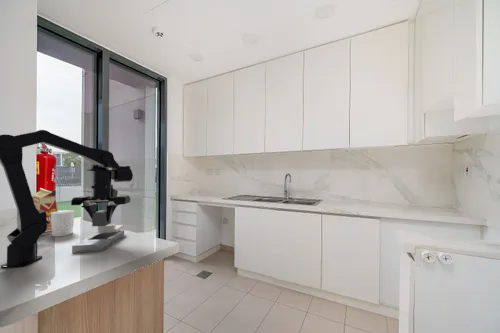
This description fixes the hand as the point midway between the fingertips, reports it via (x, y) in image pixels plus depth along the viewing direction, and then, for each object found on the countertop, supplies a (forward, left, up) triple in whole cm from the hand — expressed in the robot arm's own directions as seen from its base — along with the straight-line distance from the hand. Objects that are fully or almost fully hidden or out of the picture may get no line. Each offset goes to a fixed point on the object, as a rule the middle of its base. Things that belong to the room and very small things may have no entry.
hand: (101, 222), depth 82 cm
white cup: (+15, +23, -9) cm, 29 cm away
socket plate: (0, 0, -8) cm, 8 cm away
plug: (0, 0, -1) cm, 1 cm away
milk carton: (+23, +36, -9) cm, 44 cm away
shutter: (+7, 0, -5) cm, 9 cm away
